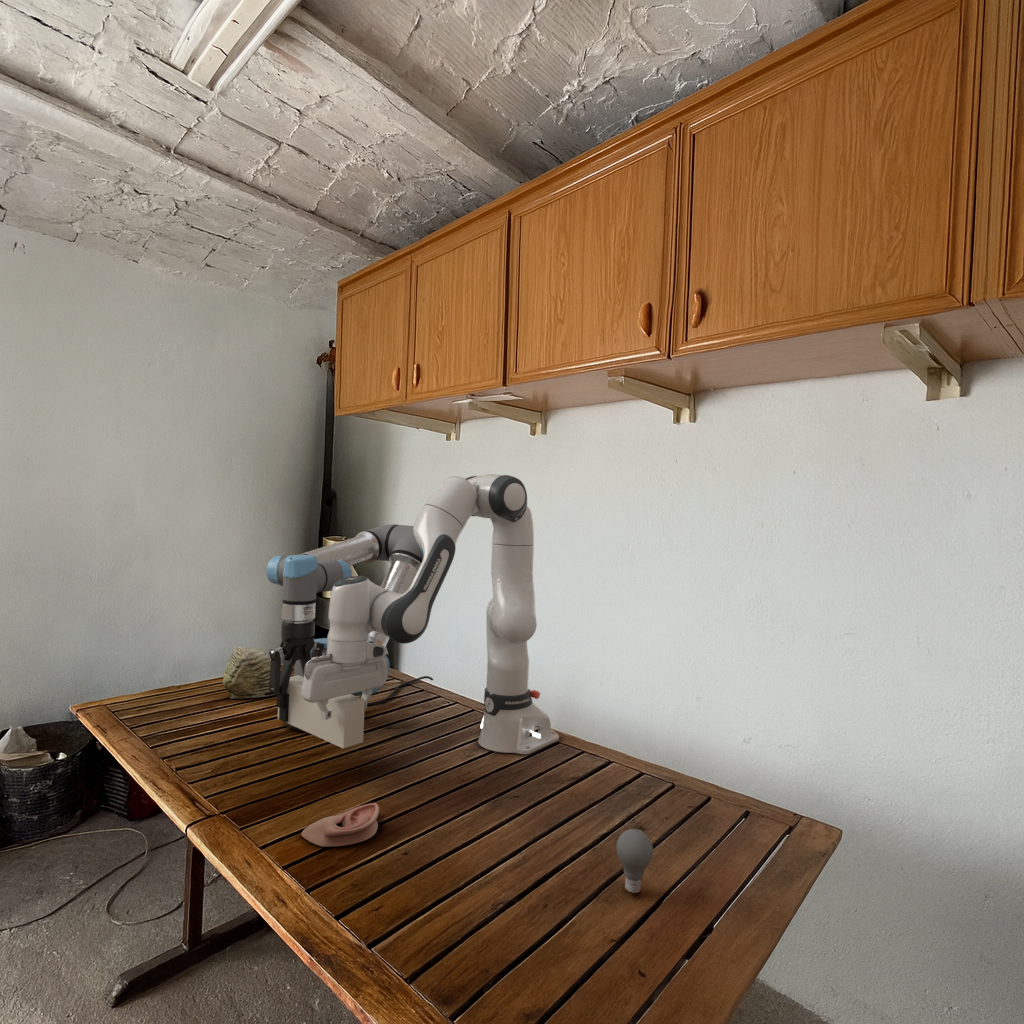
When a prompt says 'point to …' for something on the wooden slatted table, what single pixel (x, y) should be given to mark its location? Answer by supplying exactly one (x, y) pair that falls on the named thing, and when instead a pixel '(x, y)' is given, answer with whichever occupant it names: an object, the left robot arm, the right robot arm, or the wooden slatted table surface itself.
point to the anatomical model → (344, 827)
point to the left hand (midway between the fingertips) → (294, 717)
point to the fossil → (248, 673)
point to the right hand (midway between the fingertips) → (344, 713)
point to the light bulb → (634, 857)
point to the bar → (338, 729)
